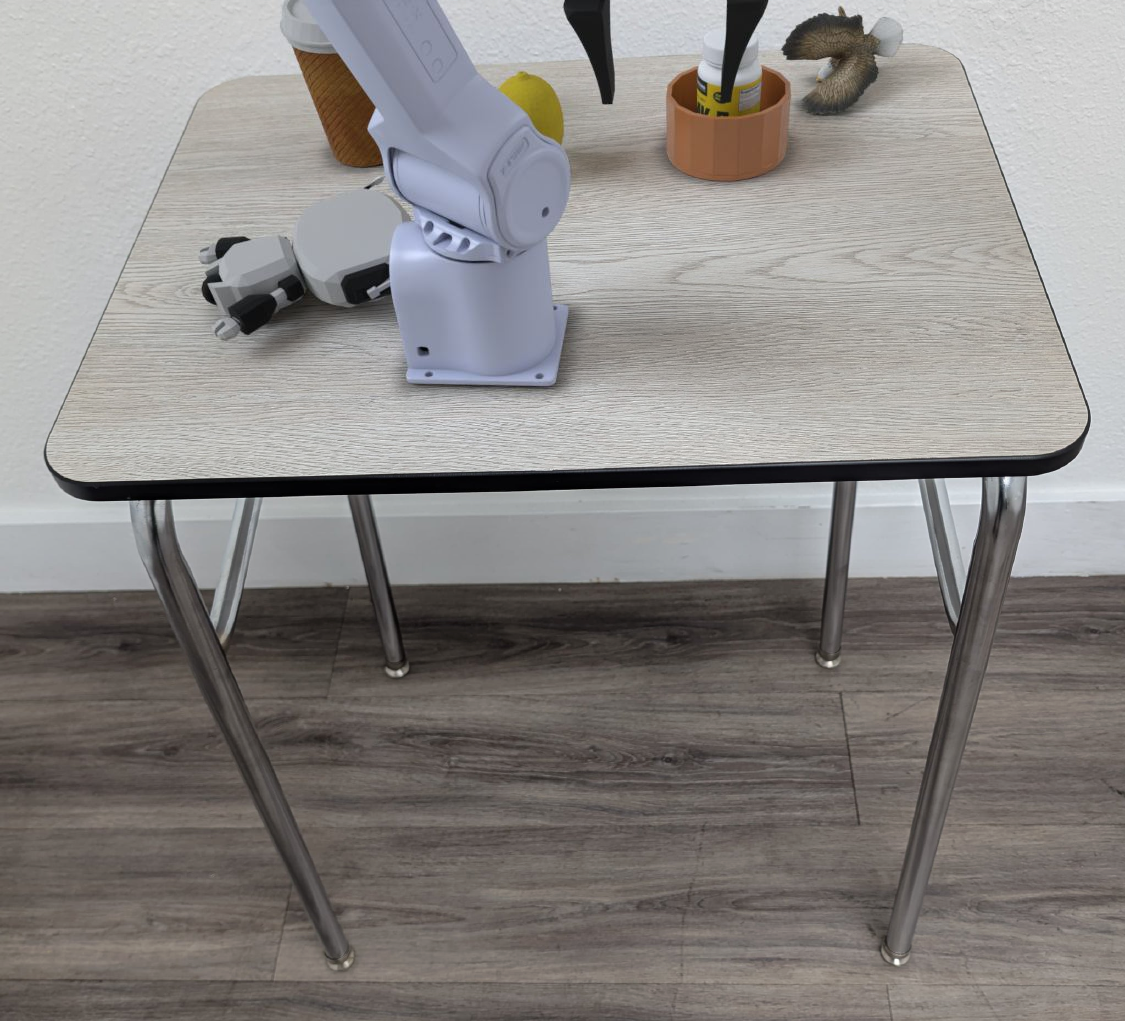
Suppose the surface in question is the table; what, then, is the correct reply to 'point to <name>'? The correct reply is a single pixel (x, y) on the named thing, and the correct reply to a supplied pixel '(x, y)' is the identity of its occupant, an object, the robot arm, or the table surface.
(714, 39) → the supplement bottle
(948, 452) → the table surface
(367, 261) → the robot toy
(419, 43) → the robot arm
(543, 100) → the lemon
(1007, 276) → the table surface
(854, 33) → the eagle figurine
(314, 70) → the disposable coffee cup
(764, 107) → the copper cup
